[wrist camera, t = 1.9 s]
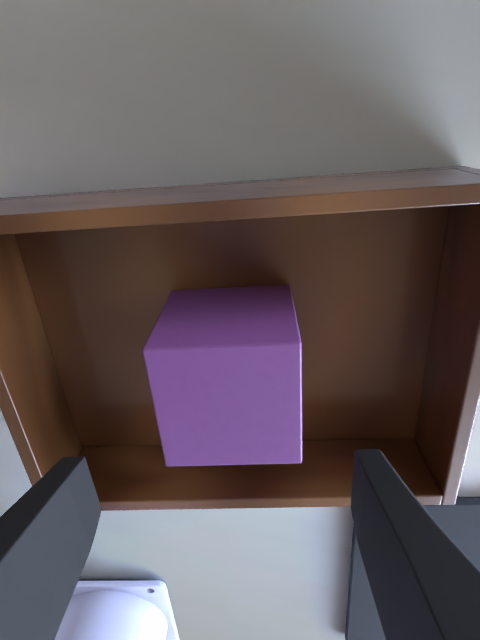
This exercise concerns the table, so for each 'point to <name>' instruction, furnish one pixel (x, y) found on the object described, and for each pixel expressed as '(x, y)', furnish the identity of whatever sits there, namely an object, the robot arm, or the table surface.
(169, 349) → the block
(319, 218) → the brown wooden tray
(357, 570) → the mat
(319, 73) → the table surface
